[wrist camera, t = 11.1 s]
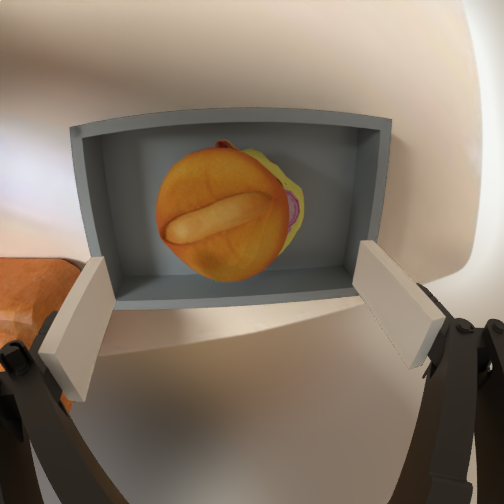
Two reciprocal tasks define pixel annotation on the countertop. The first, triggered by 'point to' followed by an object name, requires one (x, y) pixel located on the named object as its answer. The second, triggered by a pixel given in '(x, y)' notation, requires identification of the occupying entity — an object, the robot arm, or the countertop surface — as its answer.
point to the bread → (32, 298)
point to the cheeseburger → (228, 211)
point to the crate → (243, 137)
